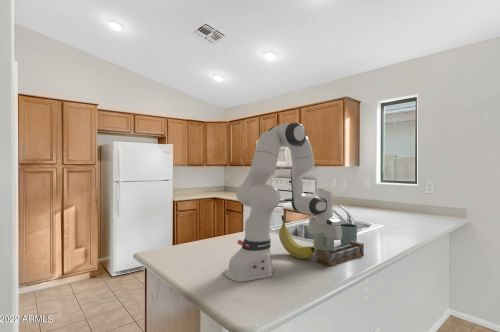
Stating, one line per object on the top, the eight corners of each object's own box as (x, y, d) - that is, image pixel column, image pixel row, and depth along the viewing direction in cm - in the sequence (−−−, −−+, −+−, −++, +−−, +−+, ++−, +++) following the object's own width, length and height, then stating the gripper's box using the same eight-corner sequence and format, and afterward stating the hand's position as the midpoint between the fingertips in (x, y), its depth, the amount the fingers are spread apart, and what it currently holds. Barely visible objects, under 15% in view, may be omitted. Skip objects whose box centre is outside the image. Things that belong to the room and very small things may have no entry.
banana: (317, 261, 133) (317, 220, 133) (310, 263, 129) (309, 222, 129) (284, 250, 150) (284, 214, 150) (276, 252, 147) (276, 215, 147)
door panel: (316, 254, 140) (316, 235, 140) (313, 253, 141) (313, 234, 141) (334, 250, 148) (334, 231, 148) (331, 249, 149) (331, 230, 149)
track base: (328, 266, 125) (328, 253, 125) (316, 262, 131) (316, 250, 131) (363, 255, 141) (363, 243, 141) (351, 251, 147) (351, 240, 147)
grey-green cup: (354, 249, 151) (354, 227, 151) (336, 246, 157) (336, 225, 157) (359, 245, 159) (359, 224, 159) (342, 242, 165) (342, 222, 165)
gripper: (305, 216, 151) (305, 241, 151) (335, 223, 134) (335, 250, 134) (313, 215, 155) (313, 239, 155) (343, 221, 138) (343, 248, 138)
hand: (324, 244), depth 144 cm, fingers closed on door panel, 2 cm apart
